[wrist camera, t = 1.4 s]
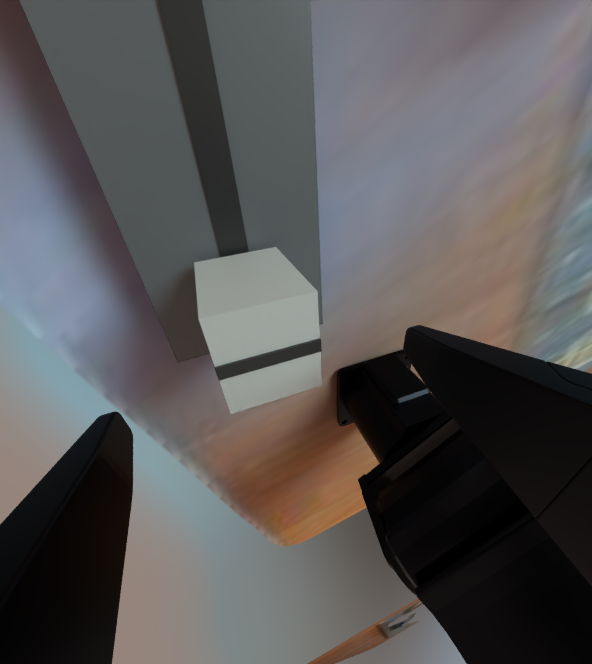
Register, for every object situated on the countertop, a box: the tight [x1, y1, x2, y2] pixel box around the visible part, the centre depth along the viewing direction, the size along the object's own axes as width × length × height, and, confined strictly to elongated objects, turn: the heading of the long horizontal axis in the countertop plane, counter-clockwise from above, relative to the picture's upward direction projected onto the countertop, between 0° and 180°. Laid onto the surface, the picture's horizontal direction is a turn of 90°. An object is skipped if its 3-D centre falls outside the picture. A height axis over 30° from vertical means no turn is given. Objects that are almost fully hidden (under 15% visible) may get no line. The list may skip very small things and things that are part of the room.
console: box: [20, 0, 323, 362], centre depth 11 cm, size 18×8×2 cm, turn 5°
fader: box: [194, 247, 322, 414], centre depth 11 cm, size 4×4×5 cm
